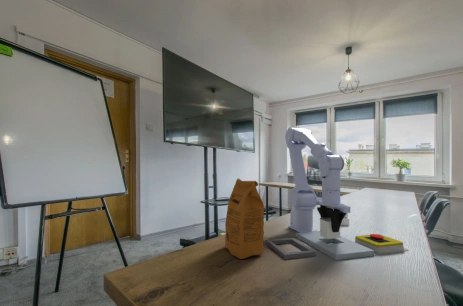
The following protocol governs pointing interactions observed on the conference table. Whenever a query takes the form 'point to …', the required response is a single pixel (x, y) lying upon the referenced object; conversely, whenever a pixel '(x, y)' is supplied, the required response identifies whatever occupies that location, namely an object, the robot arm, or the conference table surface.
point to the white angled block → (345, 220)
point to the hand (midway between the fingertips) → (331, 230)
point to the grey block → (327, 229)
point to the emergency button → (380, 243)
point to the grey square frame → (305, 253)
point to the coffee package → (244, 220)
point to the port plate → (335, 246)
